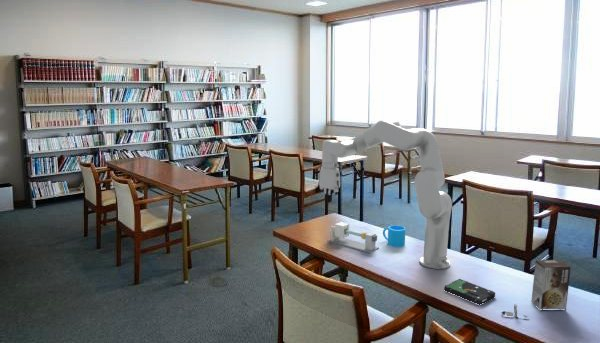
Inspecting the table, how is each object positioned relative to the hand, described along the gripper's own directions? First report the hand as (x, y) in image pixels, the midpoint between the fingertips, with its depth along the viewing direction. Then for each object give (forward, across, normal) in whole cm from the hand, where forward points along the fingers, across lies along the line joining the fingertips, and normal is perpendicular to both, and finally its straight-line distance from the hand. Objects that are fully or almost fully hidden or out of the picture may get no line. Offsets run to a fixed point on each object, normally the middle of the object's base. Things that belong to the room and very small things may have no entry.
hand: (328, 202), depth 224 cm
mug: (+18, -28, -15) cm, 37 cm away
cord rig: (+18, -15, 0) cm, 24 cm away
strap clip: (+18, -94, +21) cm, 98 cm away
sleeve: (+15, -9, 0) cm, 18 cm away
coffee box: (+17, -101, +6) cm, 103 cm away
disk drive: (+18, -77, +15) cm, 80 cm away
